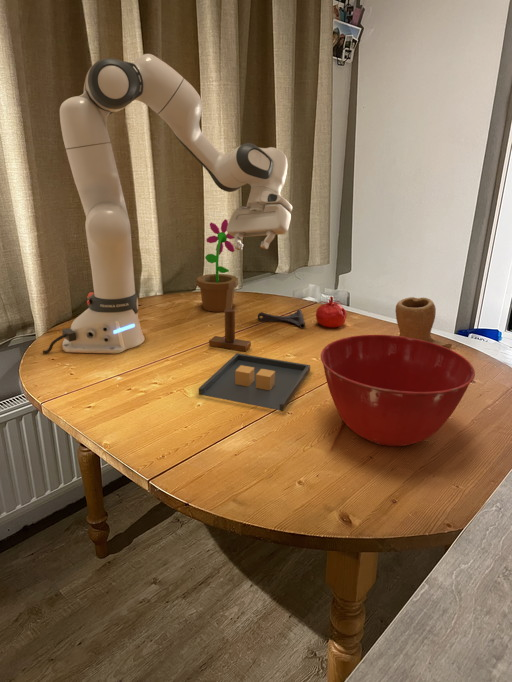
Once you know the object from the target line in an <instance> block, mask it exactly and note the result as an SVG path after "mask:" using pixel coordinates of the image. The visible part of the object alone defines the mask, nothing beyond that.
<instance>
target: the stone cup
mask: <svg viewBox="0 0 512 682" xmlns="http://www.w3.org/2000/svg"><path fill="white" fill-rule="evenodd" d="M395 319H396V323H397V326H398V330H399V336H402V337H409V338H414V339H419V340H423V341H427V342H431V343H434V344H437V345H440V346H443V347H446V348H448V349H450V350H451V348H452V347H453V343H452V342H447V341H442V340H439V339H435V338H432V336H431V335H432V334H431V332H432V329H433V326H434V323H435V319H436V305H435V303H434V301H433V300H432V299H430V298H429V297H428V298H427V297H414V296H411V297H406V298H402V299H401V300H399V301H398V302H397V303H396V305H395Z"/></svg>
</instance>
